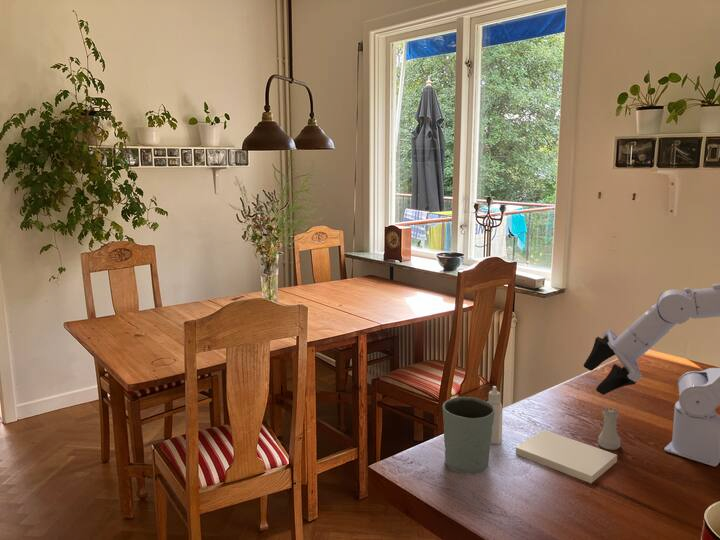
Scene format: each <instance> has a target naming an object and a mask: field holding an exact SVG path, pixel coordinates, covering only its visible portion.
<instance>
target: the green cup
mask: <svg viewBox="0 0 720 540" xmlns="http://www.w3.org/2000/svg"><path fill="white" fill-rule="evenodd" d="M494 413H495V409H494V407H493V405H492V404H490V403H489V401H486V400H483V399H480V398H477V397H472V396H471V397H469V396H459V397H458V396H457V397H453V398H449V399H447V400H446V401H444V402H443V403H442V417H443V418H442V419H443V420H442V421H443V439H444V440H443V443H444V448H445V449H444V458H445V464H446V466H447V465H448V466H449V467H450V468H449V467H448V466H447V467H448V468H449V469H450V470H452V469H453V470H452V471H454V470H455V472H457V471H458V473H460V472H461V474H468V473H471V474H477V473H481V472H483V471H485V470H486V469H488V467H489V462H490V451H491V446H492V444H490V443H491V437H492V425H493V420H494Z"/></svg>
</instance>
